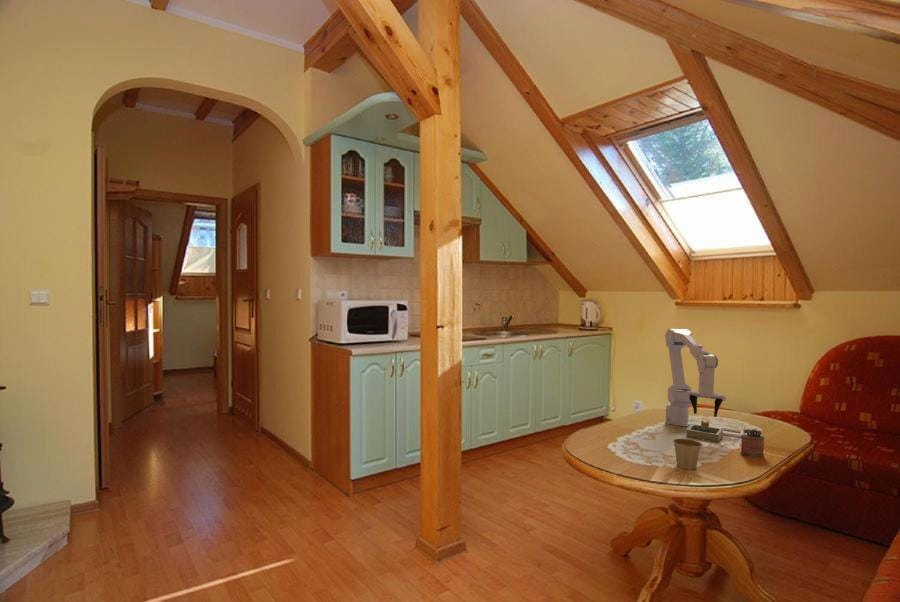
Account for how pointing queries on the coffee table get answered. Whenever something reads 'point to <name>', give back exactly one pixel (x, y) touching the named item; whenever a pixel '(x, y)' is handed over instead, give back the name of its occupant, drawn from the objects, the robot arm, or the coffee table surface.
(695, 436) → the bin
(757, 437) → the lighter
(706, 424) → the cylinder
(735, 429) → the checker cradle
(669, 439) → the coffee table surface
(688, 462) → the flower pot
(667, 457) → the coffee table surface
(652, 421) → the coffee table surface
